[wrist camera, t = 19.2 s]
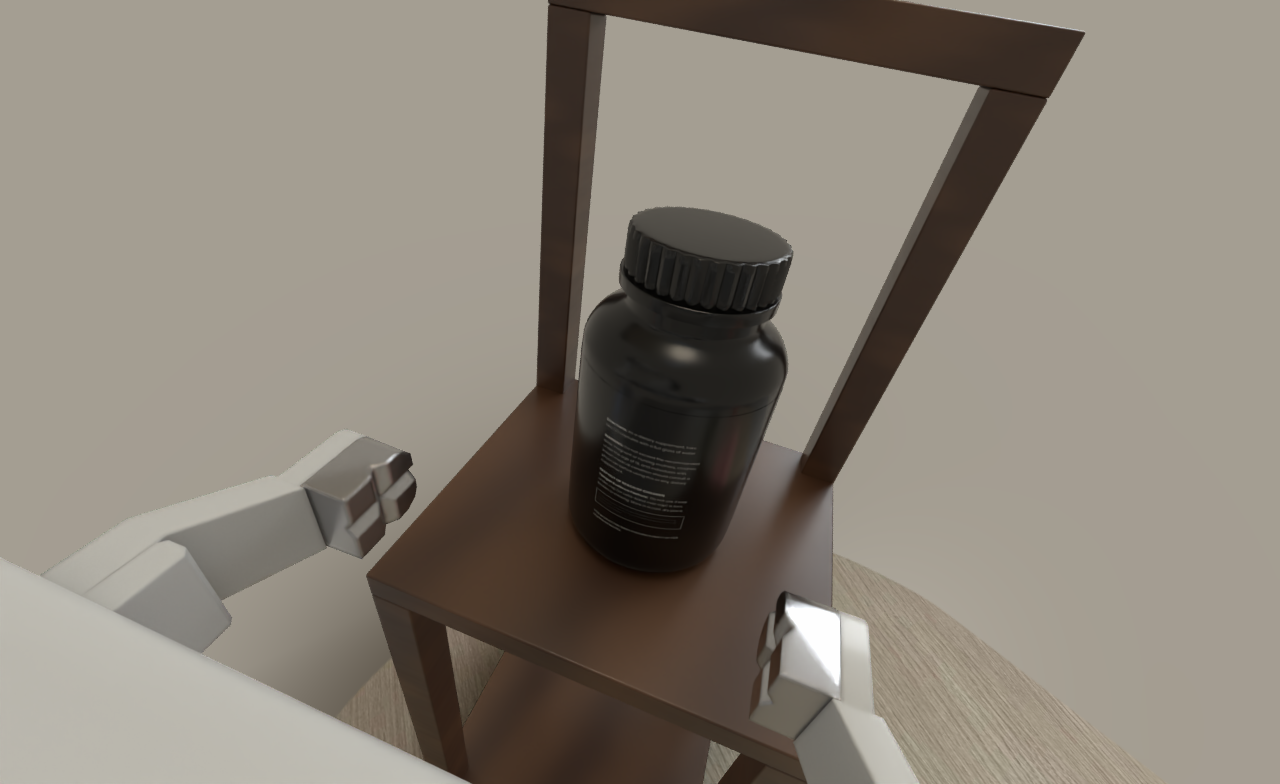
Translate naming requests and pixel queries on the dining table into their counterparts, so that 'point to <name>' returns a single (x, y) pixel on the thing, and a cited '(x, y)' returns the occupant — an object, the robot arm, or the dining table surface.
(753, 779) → the shelf
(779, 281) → the supplement bottle
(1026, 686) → the dining table surface
